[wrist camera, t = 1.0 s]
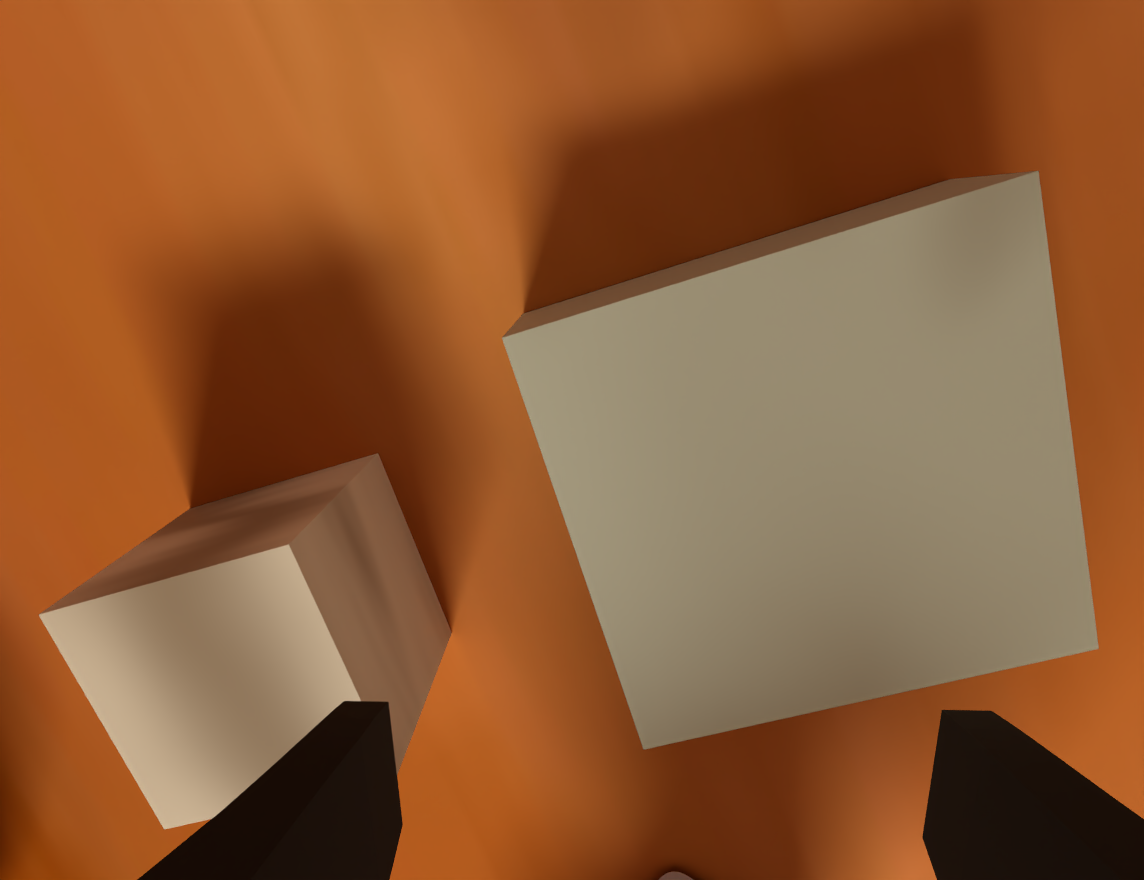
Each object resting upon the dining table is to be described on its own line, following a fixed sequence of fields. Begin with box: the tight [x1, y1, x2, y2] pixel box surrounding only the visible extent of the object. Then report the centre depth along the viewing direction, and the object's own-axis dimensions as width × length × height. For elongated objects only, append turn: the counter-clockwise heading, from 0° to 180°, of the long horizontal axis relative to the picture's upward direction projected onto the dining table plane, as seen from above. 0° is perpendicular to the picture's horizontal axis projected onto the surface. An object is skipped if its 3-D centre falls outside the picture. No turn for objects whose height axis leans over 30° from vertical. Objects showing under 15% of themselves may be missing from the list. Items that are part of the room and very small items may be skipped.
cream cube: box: [39, 453, 452, 829], centre depth 17 cm, size 6×6×6 cm
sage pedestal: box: [502, 171, 1099, 750], centre depth 16 cm, size 10×10×4 cm
